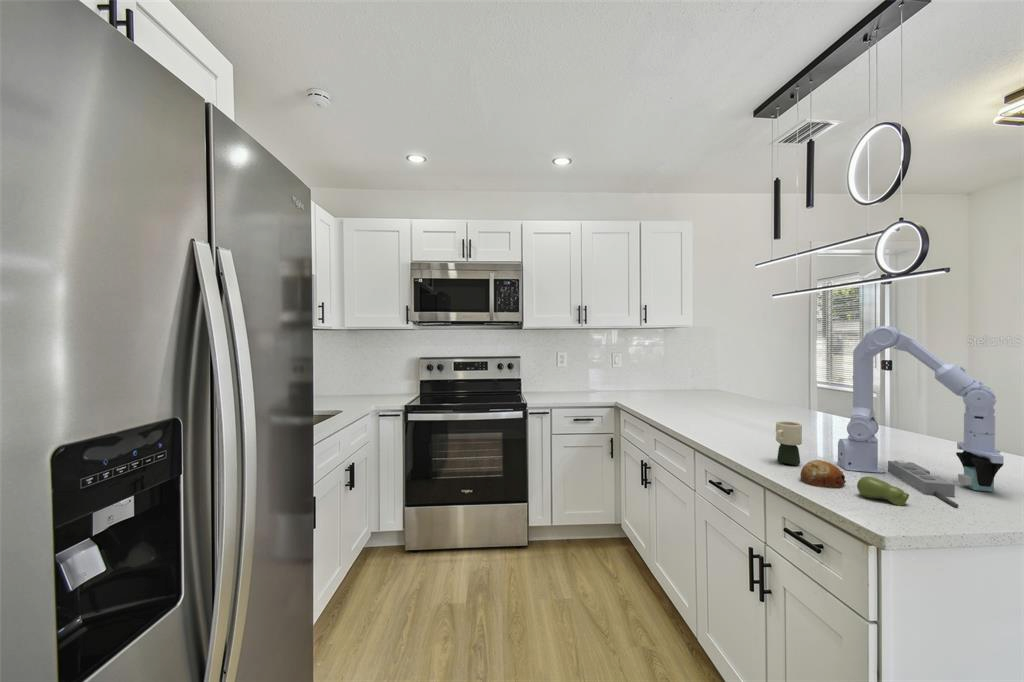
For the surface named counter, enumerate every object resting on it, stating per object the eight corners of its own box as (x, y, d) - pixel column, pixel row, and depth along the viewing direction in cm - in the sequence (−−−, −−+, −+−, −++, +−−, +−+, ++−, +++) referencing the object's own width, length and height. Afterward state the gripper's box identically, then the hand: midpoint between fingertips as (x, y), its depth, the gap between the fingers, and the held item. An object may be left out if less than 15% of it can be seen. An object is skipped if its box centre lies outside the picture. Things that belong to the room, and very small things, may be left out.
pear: (862, 471, 116) (912, 487, 109) (857, 490, 117) (907, 507, 109) (857, 475, 112) (909, 492, 105) (852, 495, 113) (903, 513, 106)
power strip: (944, 506, 106) (945, 491, 106) (887, 471, 133) (887, 458, 133) (977, 509, 104) (977, 493, 104) (912, 473, 131) (912, 460, 131)
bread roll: (810, 488, 130) (796, 461, 132) (850, 479, 124) (835, 451, 126) (806, 498, 122) (791, 469, 124) (848, 489, 116) (832, 459, 118)
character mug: (788, 458, 147) (788, 419, 147) (810, 464, 141) (810, 423, 140) (766, 463, 142) (766, 422, 142) (788, 469, 136) (788, 427, 136)
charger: (966, 489, 117) (966, 470, 117) (956, 484, 121) (956, 465, 121) (994, 491, 115) (994, 472, 115) (983, 486, 119) (983, 467, 119)
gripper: (1019, 439, 109) (1019, 494, 109) (980, 427, 123) (979, 476, 123) (982, 437, 112) (982, 491, 112) (947, 425, 125) (947, 473, 125)
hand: (978, 483), depth 118 cm, fingers closed on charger, 4 cm apart
